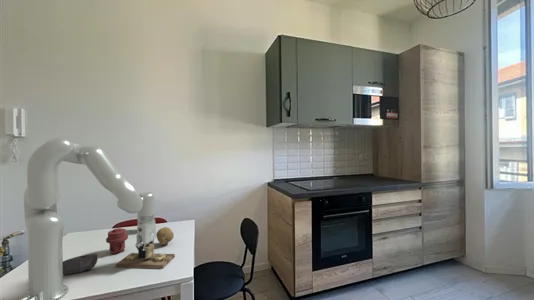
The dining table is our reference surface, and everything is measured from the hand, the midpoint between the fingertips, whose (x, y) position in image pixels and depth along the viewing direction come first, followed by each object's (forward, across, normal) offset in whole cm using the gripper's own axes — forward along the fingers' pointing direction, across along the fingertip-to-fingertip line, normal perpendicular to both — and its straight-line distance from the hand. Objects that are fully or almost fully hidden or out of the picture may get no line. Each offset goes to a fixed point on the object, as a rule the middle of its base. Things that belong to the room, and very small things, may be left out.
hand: (146, 254), depth 118 cm
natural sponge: (+4, +21, +1) cm, 21 cm away
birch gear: (+1, 0, 0) cm, 1 cm away
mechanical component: (+4, +10, +22) cm, 24 cm away
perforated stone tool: (+4, -11, +26) cm, 29 cm away
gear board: (+4, 0, 0) cm, 4 cm away
